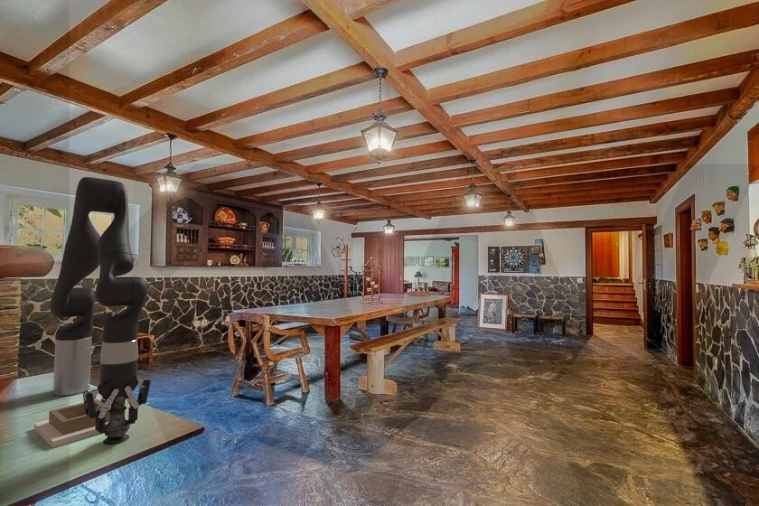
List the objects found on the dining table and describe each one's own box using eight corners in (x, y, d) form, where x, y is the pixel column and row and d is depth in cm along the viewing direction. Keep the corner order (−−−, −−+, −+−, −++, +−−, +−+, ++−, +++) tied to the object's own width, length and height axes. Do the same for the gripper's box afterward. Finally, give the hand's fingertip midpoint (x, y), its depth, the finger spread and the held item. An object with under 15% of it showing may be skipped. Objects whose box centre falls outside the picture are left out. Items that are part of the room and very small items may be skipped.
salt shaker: (96, 441, 91) (98, 391, 91) (122, 431, 96) (124, 384, 96) (109, 448, 88) (112, 396, 88) (135, 437, 93) (138, 389, 94)
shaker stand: (34, 429, 96) (34, 411, 96) (103, 410, 108) (104, 394, 108) (52, 448, 87) (53, 428, 88) (125, 425, 100) (126, 408, 100)
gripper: (144, 350, 100) (142, 414, 100) (77, 361, 89) (75, 433, 89) (157, 355, 96) (155, 422, 96) (89, 368, 84) (86, 443, 84)
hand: (116, 427), depth 92 cm, fingers closed on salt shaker, 6 cm apart
